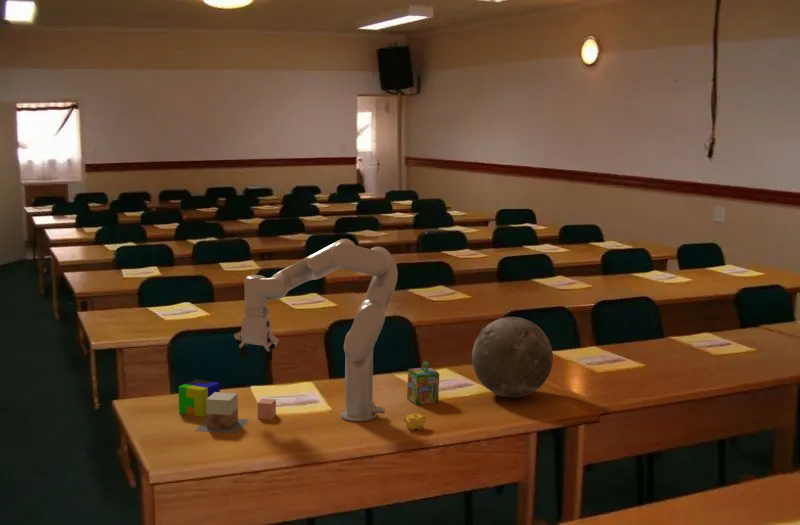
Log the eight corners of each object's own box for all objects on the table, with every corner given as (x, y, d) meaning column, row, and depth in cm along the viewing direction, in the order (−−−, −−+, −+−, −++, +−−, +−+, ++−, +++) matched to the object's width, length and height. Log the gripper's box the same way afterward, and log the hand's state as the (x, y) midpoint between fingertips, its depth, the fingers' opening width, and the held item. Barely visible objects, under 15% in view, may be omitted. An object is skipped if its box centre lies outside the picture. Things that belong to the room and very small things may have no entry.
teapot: (406, 433, 291) (406, 418, 290) (400, 427, 296) (401, 412, 296) (429, 431, 293) (429, 416, 293) (423, 425, 299) (423, 410, 298)
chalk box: (406, 398, 328) (407, 360, 326) (429, 396, 331) (429, 357, 329) (416, 406, 320) (416, 366, 317) (439, 403, 323) (440, 364, 321)
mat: (249, 420, 302) (249, 419, 302) (236, 434, 288) (235, 433, 288) (210, 418, 304) (210, 417, 304) (195, 432, 290) (195, 430, 290)
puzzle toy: (220, 410, 313) (219, 382, 312) (202, 418, 304) (201, 390, 303) (197, 406, 317) (196, 379, 316) (179, 414, 308) (178, 386, 307)
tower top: (237, 407, 299) (237, 393, 298) (229, 415, 291) (229, 400, 290) (215, 406, 300) (214, 392, 299) (206, 413, 292) (206, 399, 291)
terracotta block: (275, 416, 307) (275, 399, 306) (271, 420, 302) (271, 403, 302) (262, 415, 308) (261, 398, 307) (257, 419, 303) (257, 403, 302)
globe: (568, 399, 329) (571, 320, 324) (507, 413, 312) (509, 330, 307) (514, 380, 353) (516, 306, 349) (455, 392, 337) (456, 315, 332)
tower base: (238, 421, 299) (237, 407, 299) (230, 429, 292) (229, 415, 291) (215, 420, 301) (215, 406, 300) (207, 428, 293) (206, 413, 292)
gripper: (283, 311, 302) (283, 360, 305) (240, 307, 309) (241, 354, 311) (271, 316, 295) (272, 365, 298) (228, 311, 302) (229, 359, 305)
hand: (256, 360), depth 305 cm, fingers open, 9 cm apart
